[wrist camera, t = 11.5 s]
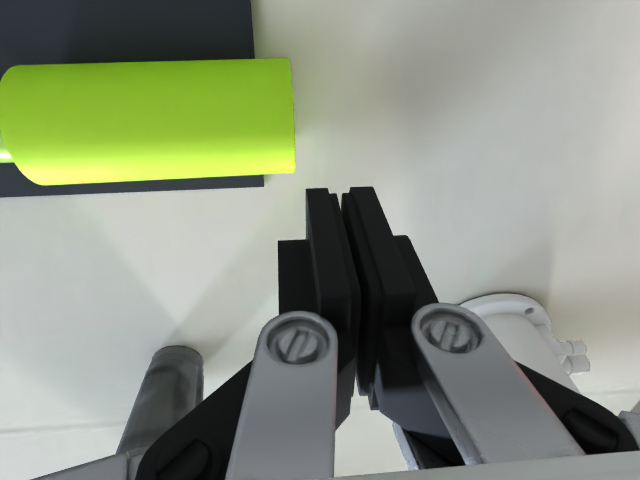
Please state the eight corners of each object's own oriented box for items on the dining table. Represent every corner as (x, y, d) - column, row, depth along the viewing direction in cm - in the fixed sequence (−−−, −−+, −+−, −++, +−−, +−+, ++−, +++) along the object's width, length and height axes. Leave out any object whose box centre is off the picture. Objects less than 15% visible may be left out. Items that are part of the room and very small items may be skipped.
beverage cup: (130, 334, 36) (21, 666, 20) (218, 335, 37) (183, 648, 21) (140, 386, 40) (57, 693, 24) (218, 385, 41) (189, 677, 25)
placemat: (240, -129, 19) (240, -130, 19) (264, 184, 28) (264, 187, 28) (-257, -144, 17) (-266, -145, 17) (-54, 196, 27) (-58, 200, 26)
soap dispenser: (292, 54, 18) (-232, 68, 16) (296, 193, 22) (-114, 215, 20) (285, 23, 22) (-123, 31, 20) (291, 143, 27) (-46, 158, 25)
